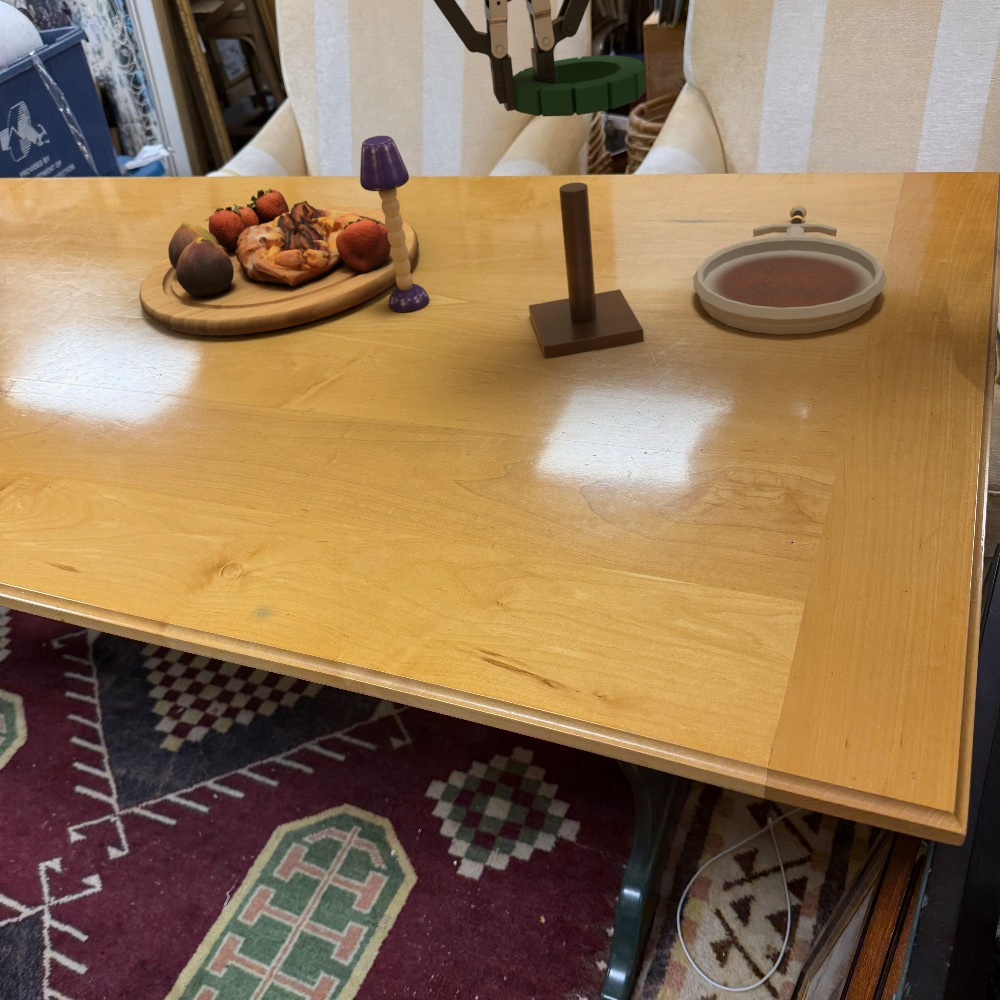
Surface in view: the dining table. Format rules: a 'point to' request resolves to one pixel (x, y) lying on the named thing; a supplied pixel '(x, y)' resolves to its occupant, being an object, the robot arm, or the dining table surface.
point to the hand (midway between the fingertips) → (526, 104)
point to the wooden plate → (270, 267)
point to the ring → (581, 86)
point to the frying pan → (789, 280)
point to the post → (582, 293)
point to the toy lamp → (392, 215)
